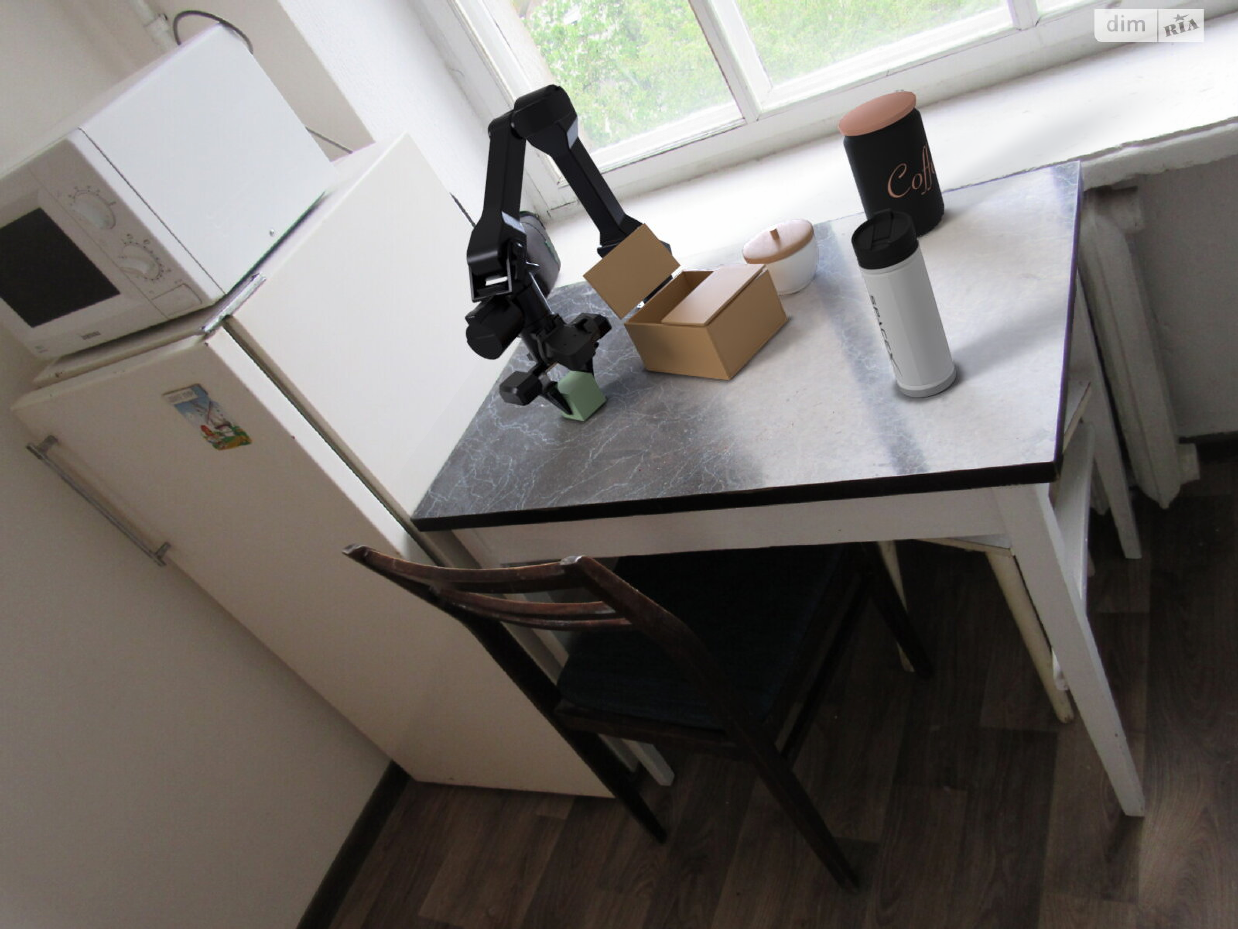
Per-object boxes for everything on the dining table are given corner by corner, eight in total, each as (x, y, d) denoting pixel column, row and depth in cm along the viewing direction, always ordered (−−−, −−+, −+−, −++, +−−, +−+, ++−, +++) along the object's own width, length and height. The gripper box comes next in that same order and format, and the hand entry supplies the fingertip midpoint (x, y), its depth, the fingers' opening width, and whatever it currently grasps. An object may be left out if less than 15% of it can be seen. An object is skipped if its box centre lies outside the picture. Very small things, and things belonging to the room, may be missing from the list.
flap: (621, 319, 125) (620, 320, 126) (680, 265, 131) (679, 266, 131) (583, 274, 124) (582, 275, 125) (644, 222, 130) (643, 223, 130)
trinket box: (825, 255, 133) (805, 200, 128) (832, 286, 125) (811, 228, 120) (758, 280, 137) (737, 228, 132) (761, 312, 128) (738, 257, 123)
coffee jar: (907, 250, 123) (871, 131, 114) (858, 240, 132) (822, 129, 123) (963, 210, 125) (932, 89, 115) (911, 203, 134) (879, 90, 124)
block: (564, 417, 131) (548, 391, 128) (586, 396, 132) (571, 370, 130) (584, 421, 127) (568, 394, 124) (606, 400, 129) (591, 373, 126)
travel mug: (957, 358, 99) (913, 200, 88) (955, 392, 94) (908, 230, 84) (901, 368, 102) (852, 217, 92) (897, 402, 97) (845, 247, 87)
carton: (647, 370, 130) (620, 319, 125) (703, 315, 136) (680, 264, 131) (729, 380, 117) (703, 323, 112) (788, 319, 123) (765, 263, 118)
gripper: (516, 361, 111) (572, 452, 119) (611, 278, 119) (657, 369, 127) (472, 355, 120) (527, 440, 128) (563, 278, 127) (609, 363, 135)
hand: (582, 403), depth 129 cm, fingers closed on block, 5 cm apart
